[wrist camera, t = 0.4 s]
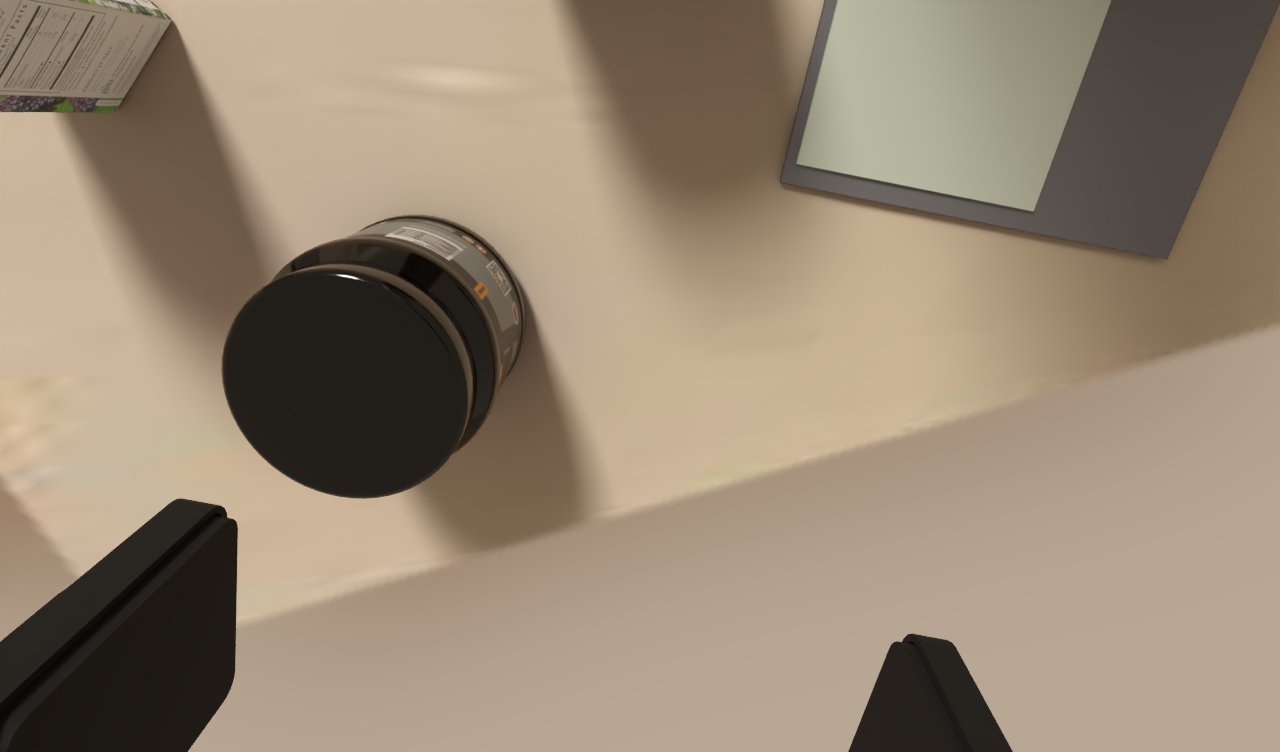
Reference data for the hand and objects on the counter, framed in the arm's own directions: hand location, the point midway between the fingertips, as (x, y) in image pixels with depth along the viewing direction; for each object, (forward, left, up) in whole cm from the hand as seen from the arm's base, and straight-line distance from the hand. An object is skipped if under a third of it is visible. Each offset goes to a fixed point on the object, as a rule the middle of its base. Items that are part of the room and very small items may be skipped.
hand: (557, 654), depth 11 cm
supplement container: (+5, -10, -30) cm, 32 cm away
